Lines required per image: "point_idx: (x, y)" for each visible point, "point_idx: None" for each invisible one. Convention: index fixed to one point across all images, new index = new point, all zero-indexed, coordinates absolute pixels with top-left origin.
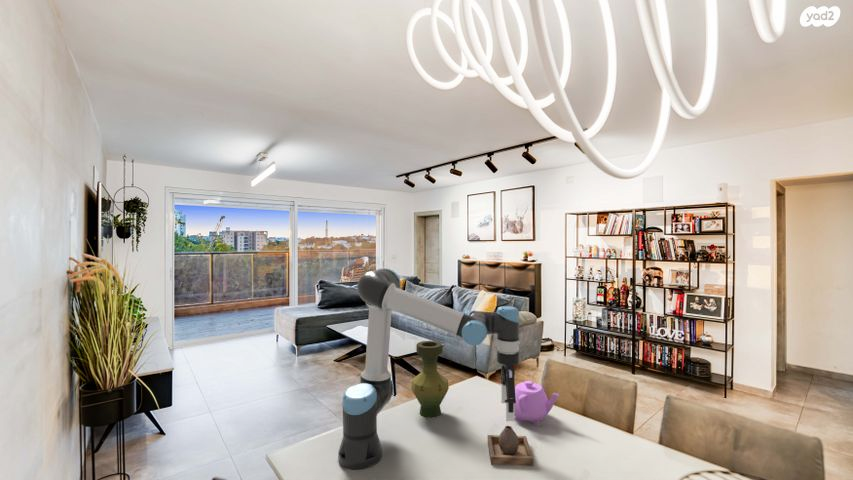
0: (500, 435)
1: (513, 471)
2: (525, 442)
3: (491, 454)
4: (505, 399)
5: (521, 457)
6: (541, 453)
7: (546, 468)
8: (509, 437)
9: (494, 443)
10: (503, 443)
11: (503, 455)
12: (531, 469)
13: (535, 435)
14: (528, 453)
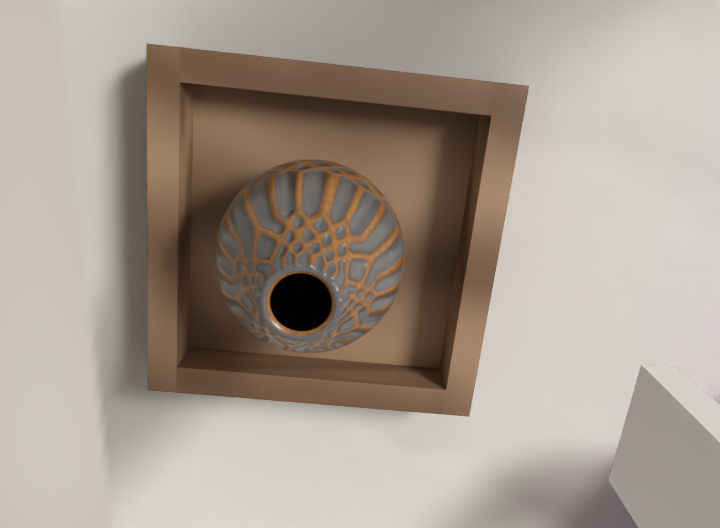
0: (302, 188)
1: (92, 209)
2: (371, 389)
3: (184, 58)
4: (659, 473)
5: (152, 306)
6: (320, 450)
7: (145, 432)
8: (226, 271)
9: (455, 139)
10: (238, 195)
11: (173, 166)
12: (127, 338)
13: (555, 475)
14: (212, 371)
